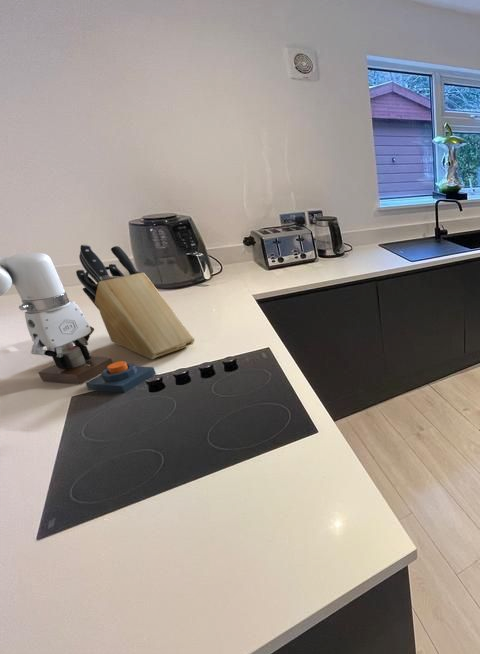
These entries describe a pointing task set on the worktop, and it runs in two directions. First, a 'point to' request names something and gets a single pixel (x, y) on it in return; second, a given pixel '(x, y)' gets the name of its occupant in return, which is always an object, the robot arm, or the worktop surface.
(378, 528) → the worktop surface
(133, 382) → the push button base
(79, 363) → the dial
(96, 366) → the dial panel
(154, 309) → the knife block
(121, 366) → the orange push button
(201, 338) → the worktop surface
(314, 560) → the worktop surface
